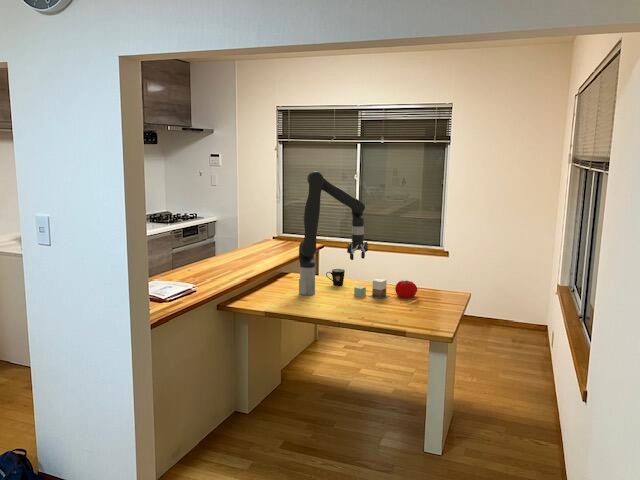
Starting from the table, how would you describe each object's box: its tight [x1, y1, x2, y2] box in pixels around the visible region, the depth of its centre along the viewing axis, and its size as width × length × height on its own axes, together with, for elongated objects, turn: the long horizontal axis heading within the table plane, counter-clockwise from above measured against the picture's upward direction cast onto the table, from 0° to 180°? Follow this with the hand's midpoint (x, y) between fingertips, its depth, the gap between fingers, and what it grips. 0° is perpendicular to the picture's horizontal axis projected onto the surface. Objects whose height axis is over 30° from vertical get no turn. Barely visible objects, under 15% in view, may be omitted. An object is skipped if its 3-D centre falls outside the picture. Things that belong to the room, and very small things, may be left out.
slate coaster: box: [367, 294, 391, 300], centre depth 321 cm, size 10×10×1 cm
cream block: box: [372, 278, 388, 290], centre depth 320 cm, size 6×6×5 cm
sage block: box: [353, 285, 367, 298], centre depth 323 cm, size 5×5×6 cm
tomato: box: [394, 279, 418, 299], centre depth 321 cm, size 13×12×11 cm
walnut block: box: [371, 288, 387, 298], centre depth 321 cm, size 6×6×5 cm
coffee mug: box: [325, 268, 346, 287], centre depth 351 cm, size 12×9×10 cm
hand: (357, 259), depth 331 cm, fingers open, 8 cm apart
